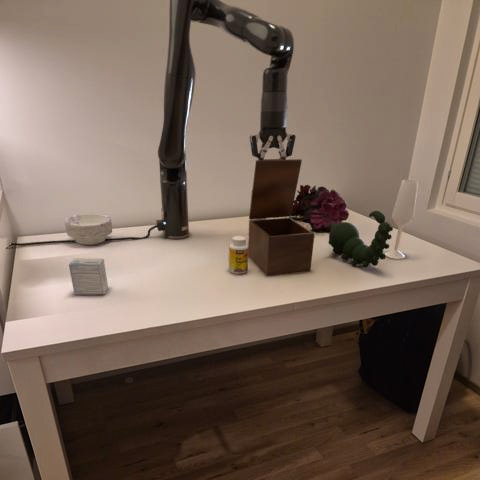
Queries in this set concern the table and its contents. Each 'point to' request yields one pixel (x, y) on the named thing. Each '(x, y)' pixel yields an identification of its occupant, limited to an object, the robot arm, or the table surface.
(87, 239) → the white stone bowl
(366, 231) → the table surface
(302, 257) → the chest
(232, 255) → the supplement bottle
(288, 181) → the lid
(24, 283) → the table surface
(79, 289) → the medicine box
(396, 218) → the champagne flute
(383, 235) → the toy figurine
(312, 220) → the flower arrangement
